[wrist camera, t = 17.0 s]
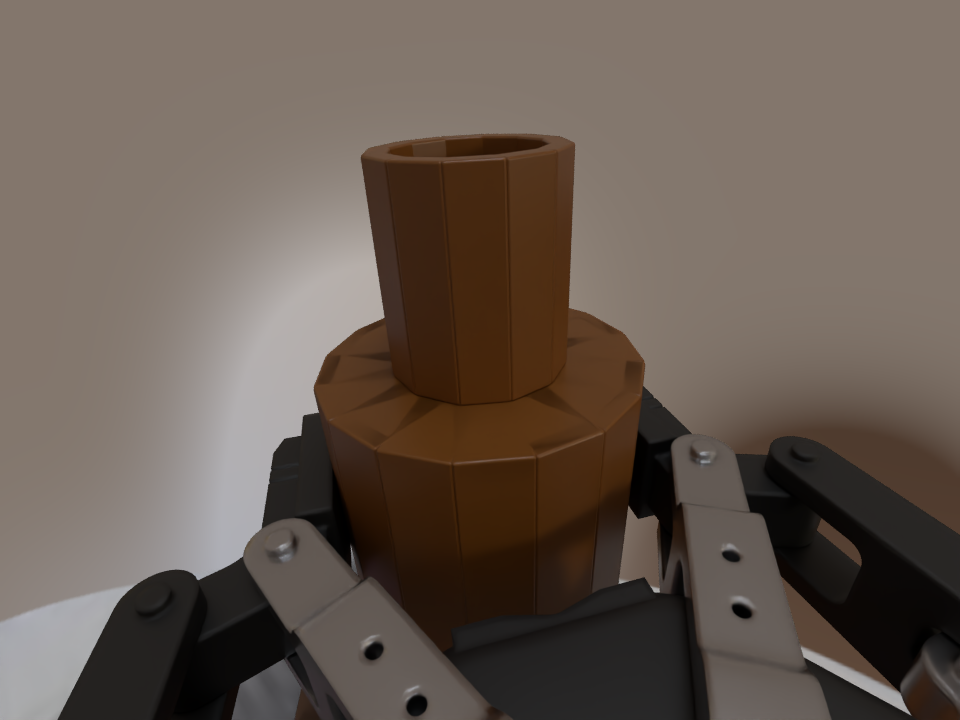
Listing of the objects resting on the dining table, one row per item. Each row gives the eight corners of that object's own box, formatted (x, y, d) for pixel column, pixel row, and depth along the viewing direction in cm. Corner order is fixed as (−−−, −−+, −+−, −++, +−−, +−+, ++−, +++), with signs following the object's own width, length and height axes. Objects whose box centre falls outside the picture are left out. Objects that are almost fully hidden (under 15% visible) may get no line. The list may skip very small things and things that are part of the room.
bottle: (391, 849, 14) (185, 196, 6) (404, 626, 19) (312, 136, 11) (627, 822, 14) (764, 160, 6) (573, 609, 20) (604, 119, 11)
